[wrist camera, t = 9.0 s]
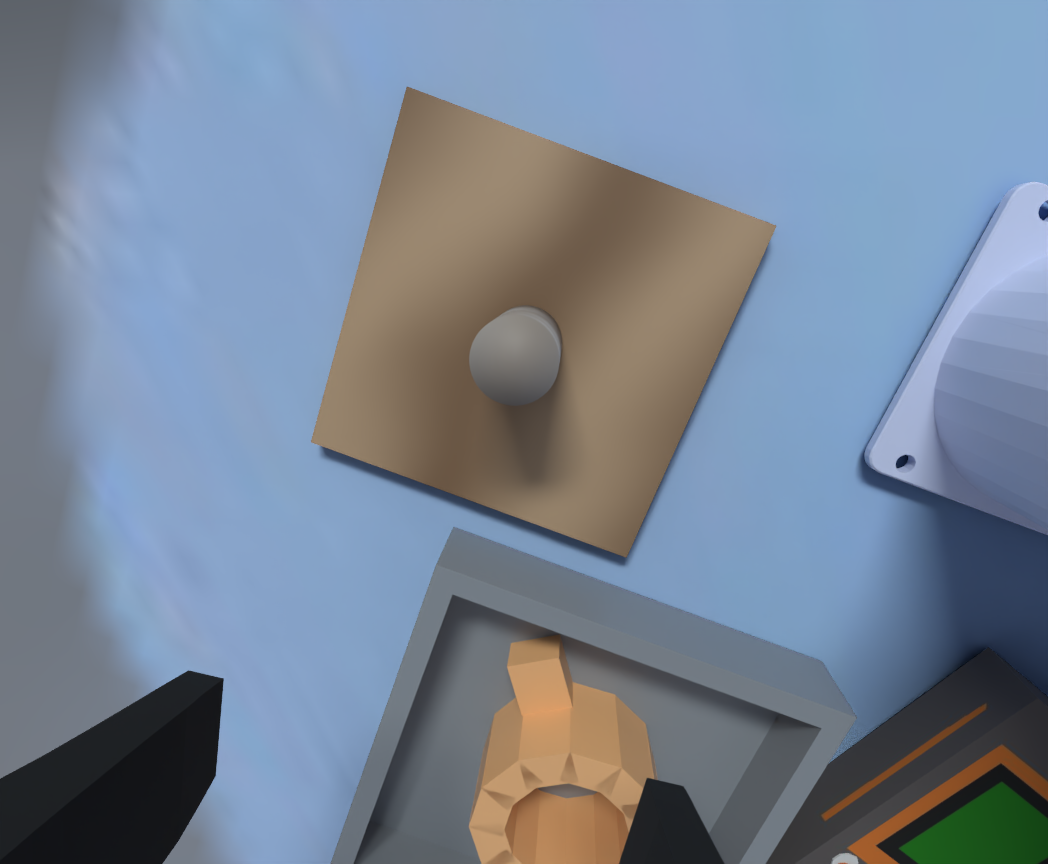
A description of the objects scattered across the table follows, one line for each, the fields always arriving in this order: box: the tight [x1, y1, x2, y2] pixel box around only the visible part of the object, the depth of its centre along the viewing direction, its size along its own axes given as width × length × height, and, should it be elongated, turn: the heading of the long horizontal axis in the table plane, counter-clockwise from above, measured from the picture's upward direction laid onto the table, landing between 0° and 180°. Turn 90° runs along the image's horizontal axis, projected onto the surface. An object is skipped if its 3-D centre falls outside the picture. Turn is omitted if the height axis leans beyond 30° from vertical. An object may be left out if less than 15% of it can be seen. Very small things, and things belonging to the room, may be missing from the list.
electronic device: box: [766, 647, 1048, 864], centre depth 20 cm, size 7×3×15 cm
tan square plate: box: [311, 87, 776, 558], centre depth 16 cm, size 10×10×4 cm
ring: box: [469, 634, 658, 864], centre depth 19 cm, size 7×6×3 cm
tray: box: [331, 527, 857, 864], centre depth 20 cm, size 12×12×2 cm
